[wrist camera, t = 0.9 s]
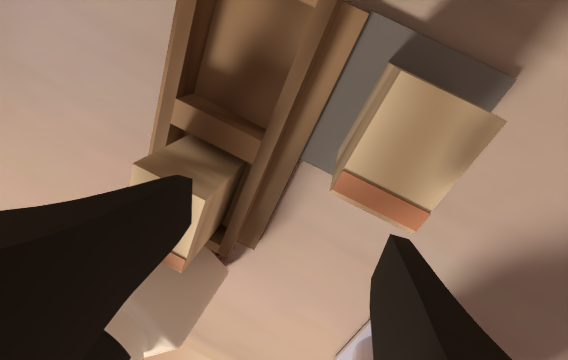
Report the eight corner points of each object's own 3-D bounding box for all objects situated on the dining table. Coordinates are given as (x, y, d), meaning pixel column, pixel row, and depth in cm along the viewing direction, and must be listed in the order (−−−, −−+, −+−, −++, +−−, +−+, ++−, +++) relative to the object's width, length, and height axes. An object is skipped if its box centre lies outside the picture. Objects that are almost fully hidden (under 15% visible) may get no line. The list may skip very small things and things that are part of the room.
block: (248, 157, 19) (204, 201, 14) (225, 218, 22) (180, 274, 16) (195, 131, 19) (130, 164, 14) (178, 194, 22) (119, 242, 16)
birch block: (456, 94, 15) (508, 121, 10) (397, 178, 18) (412, 235, 12) (387, 61, 15) (401, 70, 10) (338, 149, 18) (328, 193, 12)
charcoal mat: (512, 78, 15) (516, 79, 14) (408, 209, 19) (409, 213, 18) (370, 11, 15) (370, 10, 14) (300, 155, 19) (298, 158, 19)
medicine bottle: (133, 238, 27) (-22, 367, 17) (174, 207, 23) (4, 350, 13) (185, 291, 28) (71, 440, 18) (231, 270, 24) (119, 444, 14)
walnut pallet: (368, 15, 15) (370, 9, 12) (258, 242, 23) (244, 267, 20) (199, -65, 15) (165, -88, 13) (149, 186, 23) (122, 204, 21)
